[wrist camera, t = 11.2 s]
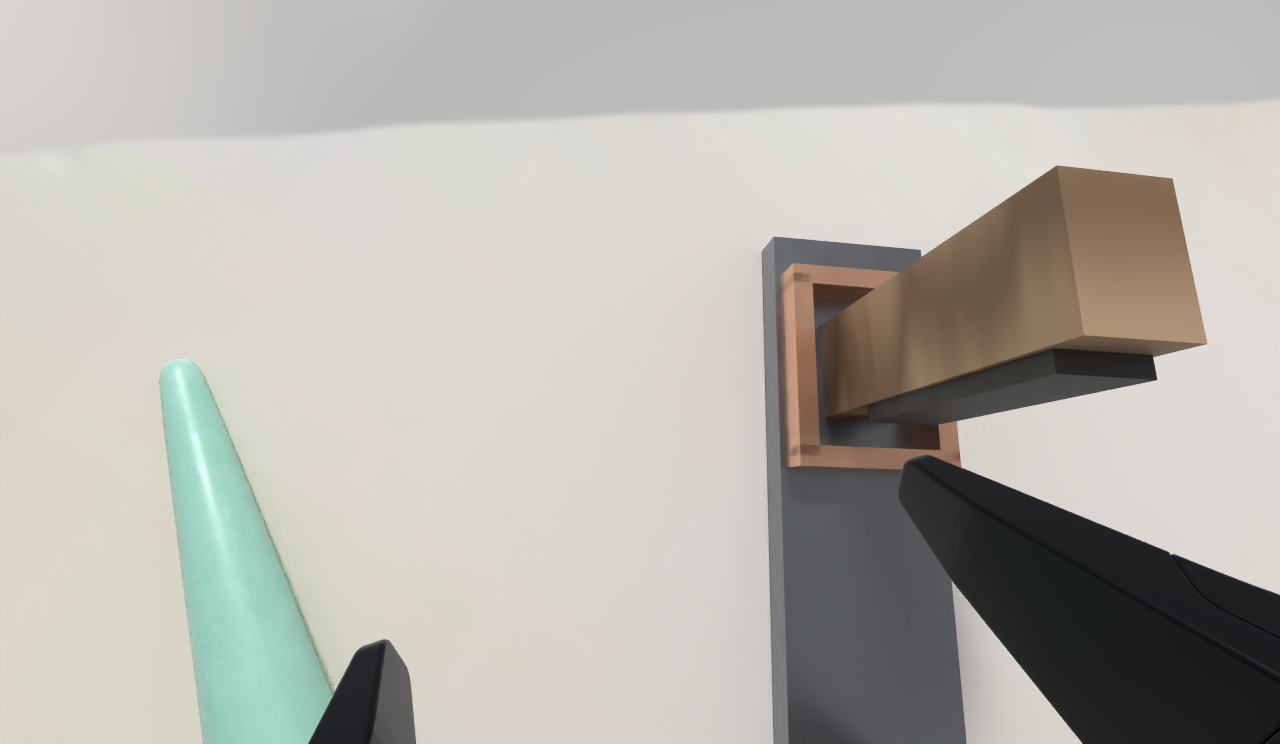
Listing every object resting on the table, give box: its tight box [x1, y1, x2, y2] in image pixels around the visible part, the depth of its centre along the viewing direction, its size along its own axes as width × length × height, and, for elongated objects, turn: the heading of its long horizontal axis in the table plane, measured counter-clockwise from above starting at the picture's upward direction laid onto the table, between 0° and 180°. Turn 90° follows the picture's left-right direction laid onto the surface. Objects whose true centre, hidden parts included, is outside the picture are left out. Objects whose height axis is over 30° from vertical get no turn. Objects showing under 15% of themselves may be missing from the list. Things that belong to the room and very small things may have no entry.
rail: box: [762, 237, 966, 744], centre depth 17 cm, size 26×7×14 cm, turn 178°
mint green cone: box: [159, 359, 333, 744], centre depth 18 cm, size 5×6×27 cm
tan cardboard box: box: [821, 166, 1207, 425], centre depth 18 cm, size 5×3×12 cm, turn 179°
